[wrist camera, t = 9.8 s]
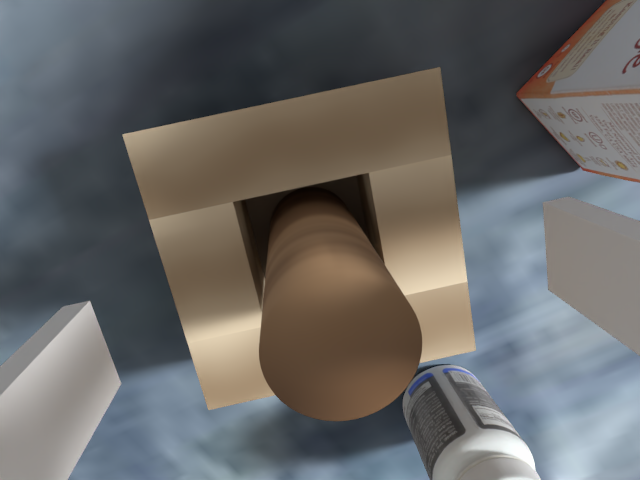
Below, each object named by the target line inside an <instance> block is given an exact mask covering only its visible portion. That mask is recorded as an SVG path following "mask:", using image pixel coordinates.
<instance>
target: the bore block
mask: <svg viewBox="0 0 640 480" xmlns="http://www.w3.org/2000/svg"><path fill="white" fill-rule="evenodd" d="M122 136H123V139H124V142H125V145H126V148H127V151H128V155H129V158H130V161H131V164H132V167H133V171H134V174H135V177H136V180H137V183H138V187H139V190H140V193H141V196H142V199H143V203H144V206H145V209H146V212H147V215H148V219H149V222H150V225H151V228H152V231H153V235H154V238H155V241H156V244H157V247H158V250H159V254H160V257H161V260H162V263H163V266H164V270H165V273H166V276H167V279H168V282H169V286H170V289H171V292H172V295H173V298H174V302H175V305H176V308H177V311H178V314H179V318H180V321H181V324H182V327H183V330H184V334H185V337H186V340H187V343H188V346H189V349H190V353H191V356H192V359H193V362H194V365H195V369H196V372H197V375H198V378H199V381H200V385H201V388H202V391H203V394H204V397H205V401H206V404H207V407H208V410H211V409H216V408H220V407H225V406H229V405H234V404H238V403H242V402H247V401H251V400H256V399H260V398H265V397H269V396H274V395H275V394H274V393H273V391H272V390H271V389H270V387H269V386H268V384H267V382H266V380H265V378H264V376H263V373H262V370H261V366H260V361H259V340H260V330H261V319H262V308H263V297H264V286H265V275H266V264H267V253H268V242H269V231H270V221H271V217H272V214H273V211H274V209H275V208H276V206H277V205H278V203H279V202H280V201H281V200H282V199H283V198H284V197H285V196H286V195H288V194H289V193H291V192H293V191H295V190H297V189H301V188H305V187H319V188H323V189H326V190H329V191H331V192H333V193H334V194H336V195H337V196H338V197H340V198H341V199H342V200H343V202H344V203H345V204H346V206H347V207H348V209H349V210H350V212H351V213H352V215H353V216H354V218H355V220H356V221H357V223H358V224H359V226H360V227H361V229H362V230H363V232H364V234H365V235H366V237H367V238H368V240H369V241H370V243H371V244H372V246H373V248H374V249H375V251H376V252H377V254H378V255H379V257H380V258H381V260H382V261H383V263H384V265H385V266H386V268H387V269H388V271H389V272H390V274H391V275H392V277H393V279H394V280H395V282H396V283H397V285H398V286H399V288H400V289H401V291H402V293H403V294H404V296H405V297H406V299H407V300H408V302H409V303H410V305H411V307H412V308H413V310H414V312H415V314H416V316H417V318H418V321H419V323H420V328H421V332H422V354H421V359H420V363H422V362H426V361H431V360H435V359H440V358H444V357H449V356H453V355H458V354H462V353H467V352H471V351H476V347H475V339H474V331H473V323H472V315H471V307H470V299H469V291H468V283H467V275H466V267H465V259H464V251H463V244H462V236H461V228H460V220H459V212H458V204H457V196H456V188H455V180H454V172H453V164H452V156H451V148H450V140H449V132H448V124H447V116H446V108H445V100H444V92H443V84H442V76H441V68H440V67H438V68H433V69H428V70H423V71H419V72H414V73H409V74H405V75H400V76H395V77H390V78H386V79H381V80H376V81H372V82H367V83H362V84H357V85H353V86H348V87H343V88H339V89H334V90H329V91H324V92H320V93H315V94H310V95H306V96H301V97H296V98H291V99H287V100H282V101H277V102H273V103H268V104H263V105H258V106H254V107H249V108H244V109H240V110H235V111H230V112H225V113H221V114H216V115H211V116H207V117H202V118H197V119H192V120H188V121H183V122H178V123H174V124H169V125H164V126H159V127H155V128H150V129H145V130H141V131H136V132H131V133H126V134H122Z"/></svg>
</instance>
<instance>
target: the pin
mask: <svg viewBox="0 0 640 480" xmlns="http://www.w3.org/2000/svg"><path fill="white" fill-rule="evenodd" d="M421 354H422V332H421V328H420V323H419V321H418V318H417V316H416V314H415V312H414V310H413V308H412V307H411V305H410V303H409V302H408V300H407V299H406V297H405V296H404V294H403V293H402V291H401V289H400V288H399V286H398V285H397V283H396V282H395V280H394V279H393V277H392V275H391V274H390V272H389V271H388V269H387V268H386V266H385V265H384V263H383V261H382V260H381V258H380V257H379V255H378V254H377V252H376V251H375V249H374V248H373V246H372V244H371V243H370V241H369V240H368V238H367V237H366V235H365V234H364V232H363V230H362V229H361V227H360V226H359V224H358V223H357V221H356V220H355V218H354V216H353V215H352V213H351V212H350V210H349V209H348V207H347V206H346V204H345V203H344V202H343V200H342V199H341V198H340V197H338V196H337V195H336V194H334V193H333V192H331V191H329V190H326V189H323V188H319V187H305V188H301V189H297V190H295V191H293V192H291V193H289V194H288V195H286V196H285V197H284V198H283V199H282V200H281V201H280V202H279V203H278V205H277V206H276V208H275V209H274V211H273V214H272V217H271V221H270V231H269V242H268V253H267V264H266V275H265V286H264V297H263V308H262V319H261V330H260V340H259V361H260V366H261V370H262V373H263V376H264V378H265V380H266V382H267V384H268V386H269V387H270V389H271V390H272V391H273V393H274V394H275V395H276V396H277V397H278V398H279V399H280V400H281V401H282V402H283V403H284V404H286V405H287V406H288V407H290V408H291V409H293V410H295V411H296V412H298V413H301V414H303V415H305V416H308V417H311V418H315V419H319V420H325V421H347V420H353V419H358V418H361V417H365V416H368V415H370V414H373V413H375V412H377V411H379V410H381V409H382V408H384V407H386V406H387V405H389V404H390V403H391V402H393V401H394V400H395V399H396V398H397V397H398V396H399V395H400V394H401V393H402V392H403V391H404V390H405V389H406V388H407V386H408V385H409V383H410V382H411V380H412V379H413V377H414V375H415V373H416V371H417V368H418V365H419V363H420V359H421Z"/></svg>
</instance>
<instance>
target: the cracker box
mask: <svg viewBox="0 0 640 480" xmlns="http://www.w3.org/2000/svg"><path fill="white" fill-rule="evenodd" d="M516 95H517V97H518V98H519V99H520V100H521V102H522V103H523V104H524V105H525V106H526V107H527V108H528V109H529V111H530V112H531V113H532V114H533V115H534V116H535V117H536V118H537V120H538V121H539V122H540V123H541V124H542V125H543V126H544V127H545V129H546V130H547V131H548V132H549V133H550V134H551V135H552V136H553V137H554V138H555V139H556V141H557V142H558V143H559V144H560V145H561V146H562V147H563V148H564V149H565V150H566V152H567V153H568V154H569V155H570V156H571V157H572V158H573V159H574V160H575V161H576V163H577V164H578V165H579V166H580V167H581V168H582V170H584V171H588V172H592V173H596V174H600V175H604V176H609V177H614V178H620V179H623V180H628V181H633V182H638V183H640V0H606V1H605V2H604V3H603V4H602V5H601V6H600V7H599V8H598V9H597V10H596V11H595V12H594V13H593V15H592V16H591V17H590V18H589V19H588V20H587V21H586V22H585V23H584V24H583V25H582V26H581V27H580V28H579V29H578V30H577V31H576V32H575V33H574V34H573V35H572V36H571V37H570V38H569V39H568V40H567V41H566V42H565V43H564V44H563V45H562V47H561V48H560V49H559V50H558V51H557V52H556V53H555V54H554V55H553V56H552V57H551V58H550V59H549V60H548V61H547V62H546V63H545V64H544V65H543V66H542V67H541V68H540V69H539V70H538V71H537V72H536V73H535V74H534V75H533V76H532V77H531V78H530V80H529V81H528V82H527V83H526V84H525V85H524V86H523V87H522V88H521V89H520V90H519V91H518V92H517V94H516Z"/></svg>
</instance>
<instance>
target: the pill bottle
mask: <svg viewBox="0 0 640 480" xmlns="http://www.w3.org/2000/svg"><path fill="white" fill-rule="evenodd" d="M403 413H404V416H405V419H406V422H407V425H408V427H409V429H410V432H411V434H412V437H413V439H414V442H415V444H416V446H417V449H418V451H419V454H420V456H421V459H422V461H423V464H424V466H425V469H426V471H427V473H428V476H429V478H430V480H541V479H540V477H539V475H538V474H537V473H536V471H535V463H534V459H533V456H532V454H531V452H530V450H529V448H528V446H527V445H526V443H525V442H524V441H523V440H522V438H521V437H520V436H519V434H518V433H517V432H516V430H515V429H514V428H513V426H512V425H511V423H510V422H509V421H508V420H507V418H506V417H505V416H504V414H503V413H502V411H501V410H500V409H499V407H498V406H497V405H496V403H495V402H494V401H493V399H492V398H491V397H490V395H489V394H488V392H487V391H486V390H485V388H484V387H483V386H482V384H481V383H480V382H479V380H478V379H477V378H476V377H475V376H474V375H473V374H472V373H471V372H469V371H468V370H466V369H464V368H462V367H459V366H455V365H441V366H436V367H432V368H430V369H427V370H425V371H424V372H422V373H420V374H419V375H417V376H416V377H415V378H414V379H413V380H412V381H411V382H410V384H409V385H408V387H407V389H406V391H405V394H404V396H403Z"/></svg>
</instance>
